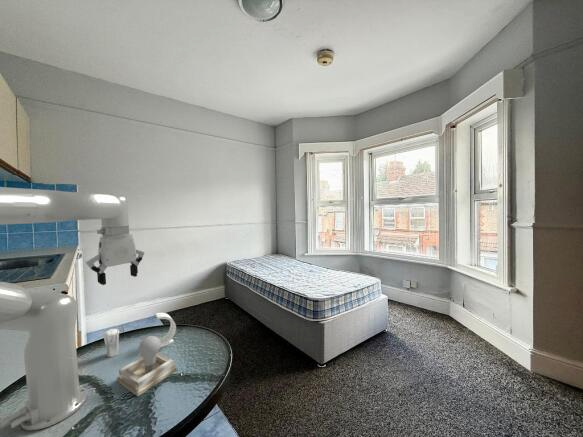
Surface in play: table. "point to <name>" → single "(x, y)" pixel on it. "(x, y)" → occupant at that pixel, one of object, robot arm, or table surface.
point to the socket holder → (145, 374)
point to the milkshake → (112, 342)
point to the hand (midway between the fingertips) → (119, 279)
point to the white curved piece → (168, 337)
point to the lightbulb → (149, 351)
